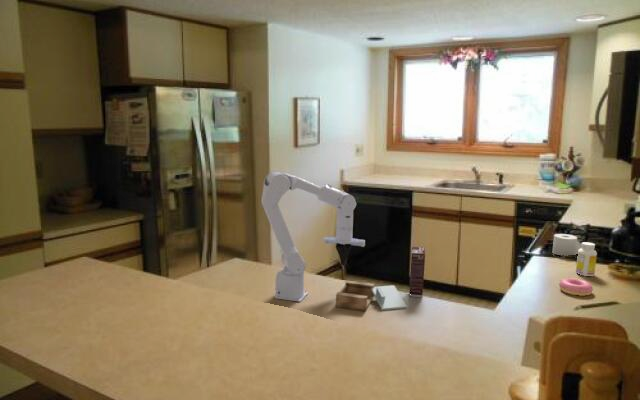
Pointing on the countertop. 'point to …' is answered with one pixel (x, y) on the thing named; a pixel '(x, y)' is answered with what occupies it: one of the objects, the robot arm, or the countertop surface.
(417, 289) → the supplement box
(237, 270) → the countertop surface
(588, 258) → the supplement bottle
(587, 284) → the doughnut
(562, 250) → the toilet tissue
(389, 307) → the lid
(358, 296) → the box
